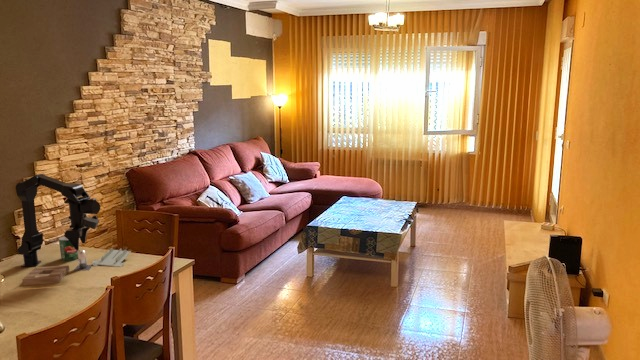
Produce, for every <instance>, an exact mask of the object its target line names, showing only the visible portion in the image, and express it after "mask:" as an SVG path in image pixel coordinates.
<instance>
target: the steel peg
mask: <svg viewBox="0 0 640 360" xmlns="http://www.w3.org/2000/svg"><path fill="white" fill-rule="evenodd" d="M77 253H78V259H77V260H78V261H77V262H78V266H79V269H85V268H87V265H88V262H87V256H86V255H87V254H86V250H85V249H79V251H77Z"/></svg>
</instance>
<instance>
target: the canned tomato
mask: <svg viewBox="0 0 640 360" xmlns="http://www.w3.org/2000/svg"><path fill="white" fill-rule="evenodd" d="M58 241H59V242H58V243H59V249H60V258H61V261H62V262H72V261H76V260H78V253H77V251H79V250H80V248H79V249H78V250H76V249H75V248H74V247H73V245H72V244H71V242H70V241H69V240H68V239H67V238H66V237H65V235H64V236H63V235H62V236H60V237H59V238H58Z"/></svg>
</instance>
